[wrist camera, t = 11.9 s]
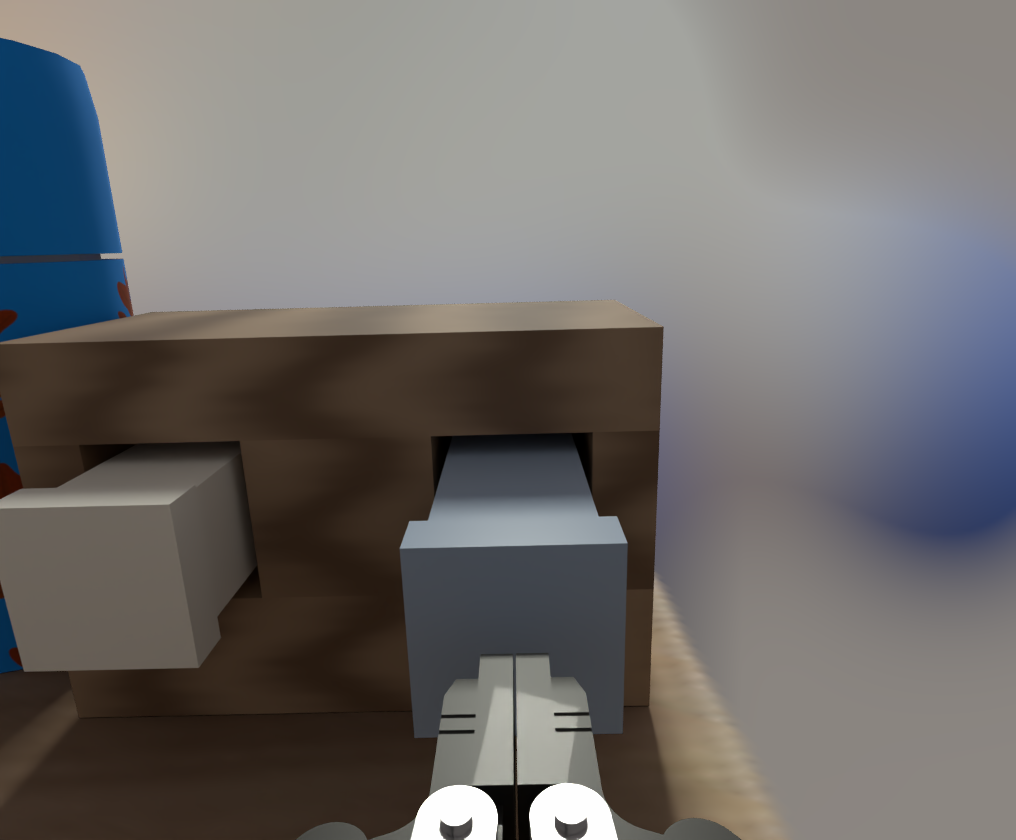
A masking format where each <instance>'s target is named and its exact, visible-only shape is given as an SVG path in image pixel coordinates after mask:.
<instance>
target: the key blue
mask: <svg viewBox="0 0 1016 840" xmlns="http://www.w3.org/2000/svg"><path fill="white" fill-rule="evenodd" d="M627 548H628V543H627V540H626V538H625V535H624V533H623V530H622V528H621V525H620V523H619V520H618V518H617V516H604V517H599V516H598V513H597V510H596V507H595V504H594V501H593V498H592V495H591V492H590V489H589V486H588V483H587V479H586V476H585V473H584V470H583V467H582V464H581V461H580V458H579V455H578V452H577V449H576V446H575V443H574V440H573V437H572V434H571V433H543V434H502V435H462V436H452V440H451V443H450V446H449V450H448V453H447V457H446V460H445V464H444V467H443V471H442V474H441V477H440V481H439V484H438V488H437V491H436V495H435V498H434V502H433V505H432V509H431V512H430V515H429V519H428V521H409V524H408V527H407V529H406V532H405V535H404V538H403V541H402V543H401V546H400V559H401V572H402V585H403V597H404V610H405V623H406V636H407V648H408V661H409V674H410V687H411V700H412V712H413V725H414V738H434V737H438V734H439V727H440V720H441V714H442V707H443V700H444V695H445V694H446V692H447V691H448V690H449V688H450V687H451V686H452V684H453V683H454V681H455V680H456V679H478V678H479V665H480V655H481V654H513V671H514V711H515V736H517V707H516V653H548V654H549V664H550V675H551V677H574V678H575V679H576V681H577V682H578V683H579V685H580V686H581V687H582V689H583V690H584V691H585V692H586V696H587V702H588V708H589V716H590V720H591V726H592V733H593V734H623V705H624V666H625V626H626V587H627Z"/></svg>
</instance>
